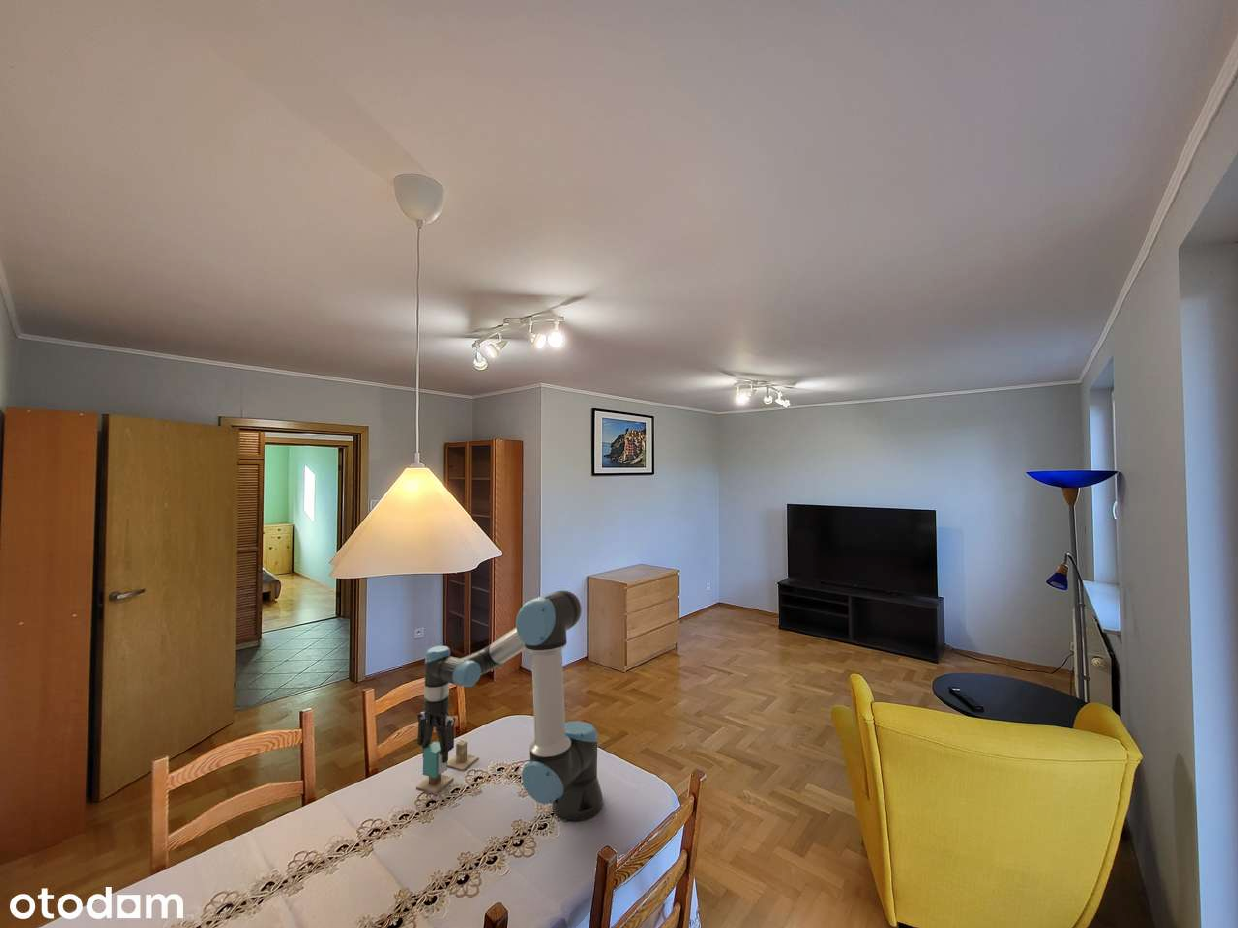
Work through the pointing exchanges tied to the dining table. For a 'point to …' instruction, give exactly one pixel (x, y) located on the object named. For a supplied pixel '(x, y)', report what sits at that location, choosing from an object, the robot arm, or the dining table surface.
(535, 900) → the dining table surface
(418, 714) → the robot arm
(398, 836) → the dining table surface
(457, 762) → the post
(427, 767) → the teal rectangular block
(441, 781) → the post
